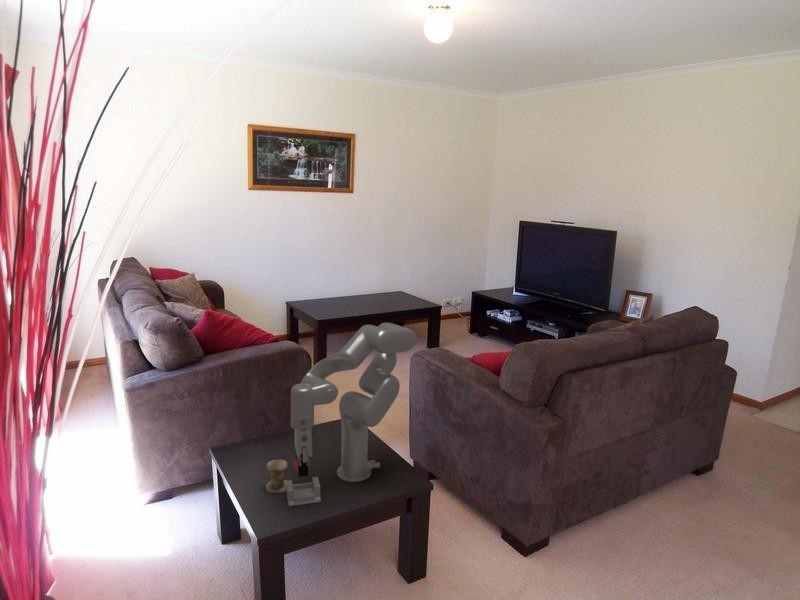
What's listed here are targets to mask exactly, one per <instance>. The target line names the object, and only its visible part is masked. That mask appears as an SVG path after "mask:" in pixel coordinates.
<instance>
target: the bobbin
mask: <svg viewBox="0 0 800 600" xmlns="http://www.w3.org/2000/svg"><path fill="white" fill-rule="evenodd" d="M287 468H288V462H287V461H286V460H285V459H278V458H277V459H272V460H270V461H268V462H267V463H266V469H267V470H268V471H270V480H269V481H268V482H267V483H266V484H265V490H266V492H267V493H270V494H274V495H278V494H282V493H286V489H287V483H286V479H285V470H286V469H287Z"/></svg>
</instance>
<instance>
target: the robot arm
mask: <svg viewBox="0 0 800 600" xmlns="http://www.w3.org/2000/svg"><path fill="white" fill-rule="evenodd" d="M416 344H417V334H416V333H415V332H414V330H412V329H411V328H409V327H406V326H401V325H399V324H396V323H392V322H382V323H380V324H379V325H378V326H376V325H374V324H365V325H362V326H361V327H360V328H359V329H358V330H357V331H356V332H355V334H354V335H352V337H351V338H350V339H349V340H348V341H347V342H346V343H345V345H343V347H342V348H341V349H340V350H339V351H338V352H336V353H333V354H331V355H329V356H327V357H324V358H323V359H321V360H319V361H318V362H317V363H315V364H314V365H313V366H312V367H311V368H310V369H309V370H308V371H307V373H306V374H305V375H304V376H303V378H302V380H301V382H300V383H297V384H294V385H293V386H292V387H291V388H290V428H292V429H293V430H294V447H295V452H296V459H297V458H299V472H298V478H300V477H301V478H302V477H308V476H309V470H308V459H309V458H312V457H313V437H312V436H313V435H312V428H314V427H315V406H323V405H329V404H331V403H333V402H334V401H336V399H337V397H338V396H339V389H338V387H337V386H336V384H334V383H333V382H331V381H328V380H327V378H328V377H329V376H331V375H333V374H336V373H339V372H346V371H353V370H356V369H358V367H359V366H360V365H361V364H362V363H363V362H364V360H365V359H366V358H367V357H368V356H369V355H370V354H371V352H373V351H374V352H376V353H375V355H374V356H373V358H372V359H371V361H370V363H369V364H368V366H367V367H366V368H365V370H364V371H363V373H362V374H361V376H360V378H359V380H358V386H359V388H360V390H361V391H363V392H364V393H367V394H368V395H370V396H372V397H370V396H368V395H365V394H364V393H361V392H358V391H354V390H353V391H352V390H350V391H347V392H345V393H344V394H342V396H341V397H340V399H339V403H338V411H339V415H340V422H341V423H340V424H341V449H340V450H341V462H340V464H341V465H339V467H338V468H337V470H336V475H337V476H338V478H339V479H340V480H342V481H345V482H349V483H358V482H363V481H365V480H367V479H369V478H370V477H371V475H372V469H379V468H381V463H380V461H379V462H378V461H376V460H375V459H372V460H369V459H368V446H369V445H368V442H369V441H368V440H369V439H368V438H369V437H368V435H369V428H373V427H376V426H377V425H378V424H380V423H381V421H382V420H383V418H384V417H385V416H386V414H387V412H388V411H389V409H390V408H391V407H392V405H393V404H394V402H395V401H396V399H397V397H398V395H399V393H400V386H401V385H400V384H401V383H400V380H399V379H398V378H397V377H396V376H395V375H393V374H392V372H393V370H394V369H395V367H396V365H397V359H398V358H397V354H398V353H405V352H406V353H407V352H408V351H411V350H412V349H413V348H414V347H415V346H416ZM301 458H303V461H301ZM296 459H295V460H296Z"/></svg>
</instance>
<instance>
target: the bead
mask: <svg viewBox="0 0 800 600" xmlns="http://www.w3.org/2000/svg"><path fill="white" fill-rule="evenodd" d="M301 461H303V458H301ZM293 468H294V470H295V471H296V472H297V473H299V458H297V459H295V460H294V462H293ZM310 468H311V460H310V458H308V471H309V469H310Z"/></svg>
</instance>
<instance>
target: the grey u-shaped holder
mask: <svg viewBox="0 0 800 600" xmlns="http://www.w3.org/2000/svg"><path fill="white" fill-rule="evenodd" d="M285 480H286V479H285ZM311 480H312V481H310V482H304V483H303V482H302V483H295V484H293V480H292V479H288V480H286V483H287V489H286V491H285V493H286V498H287V505H288V507H293V506H301V505H307V504H312V503H313V504H314V503H321V502H322V499H321V484H320V480H319V478H318V476H312V477H311Z"/></svg>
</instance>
